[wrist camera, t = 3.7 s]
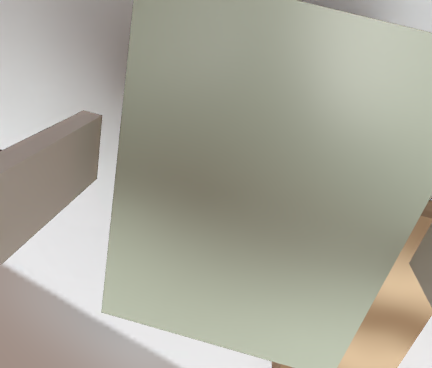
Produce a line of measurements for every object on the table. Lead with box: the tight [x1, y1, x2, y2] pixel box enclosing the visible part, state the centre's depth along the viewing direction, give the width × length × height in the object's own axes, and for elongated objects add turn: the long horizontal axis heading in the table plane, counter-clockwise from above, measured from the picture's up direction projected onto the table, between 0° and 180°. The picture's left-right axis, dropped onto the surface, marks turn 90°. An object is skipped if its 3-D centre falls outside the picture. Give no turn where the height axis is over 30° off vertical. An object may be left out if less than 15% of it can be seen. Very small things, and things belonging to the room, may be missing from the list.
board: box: [272, 201, 432, 368], centre depth 24 cm, size 16×7×2 cm, turn 168°
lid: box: [101, 0, 432, 368], centre depth 14 cm, size 12×10×3 cm
